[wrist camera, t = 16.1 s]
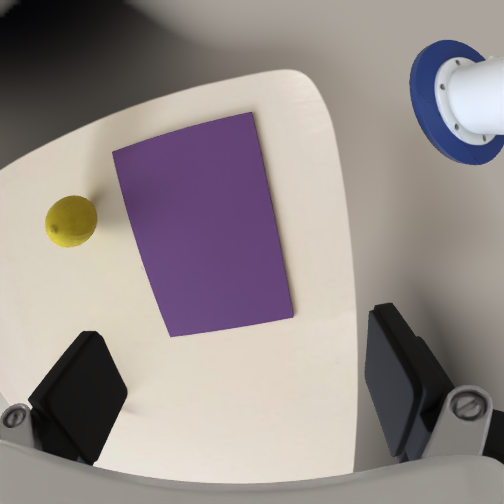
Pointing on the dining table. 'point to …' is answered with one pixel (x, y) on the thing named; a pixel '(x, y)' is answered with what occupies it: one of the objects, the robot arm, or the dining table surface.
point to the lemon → (71, 221)
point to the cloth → (206, 226)
